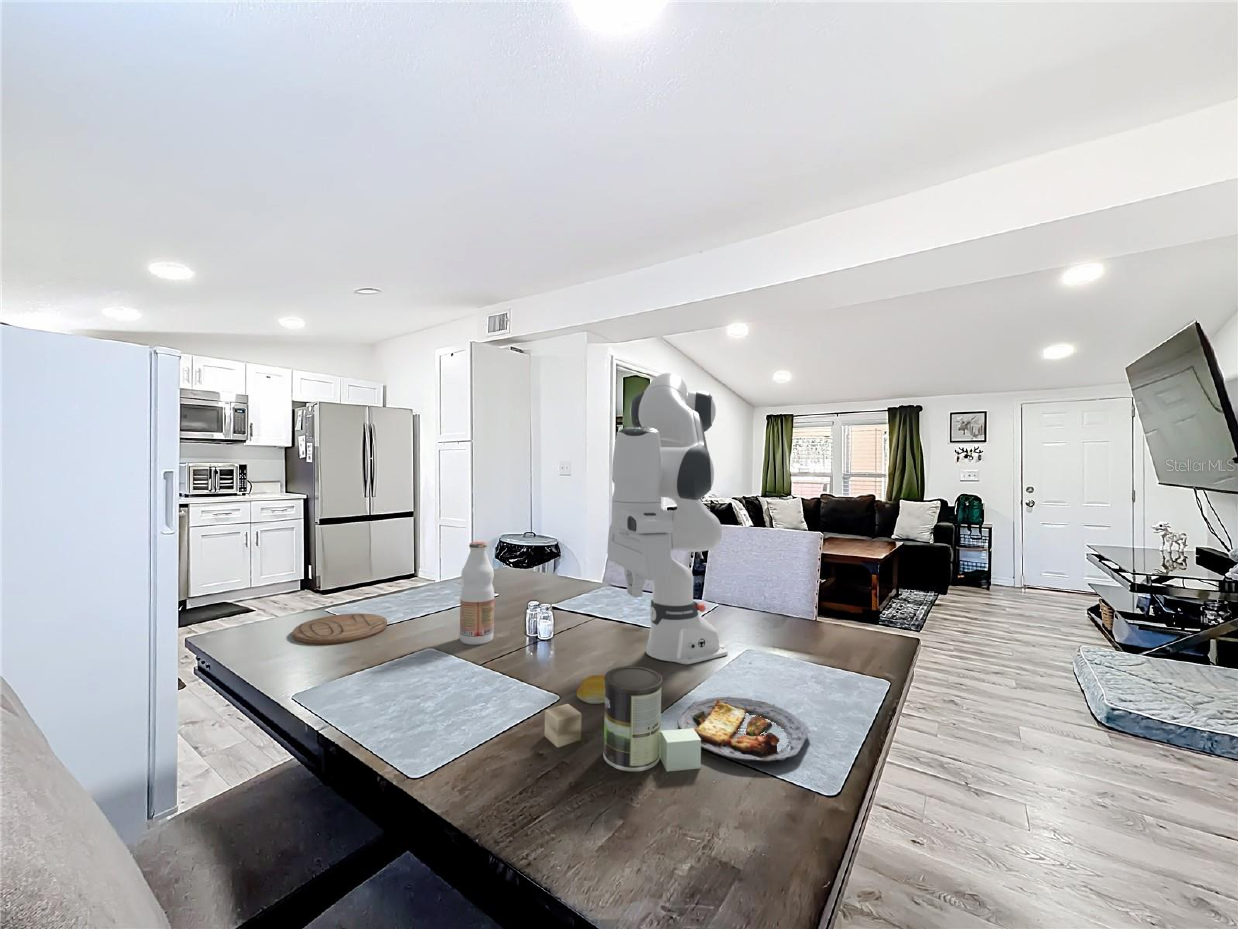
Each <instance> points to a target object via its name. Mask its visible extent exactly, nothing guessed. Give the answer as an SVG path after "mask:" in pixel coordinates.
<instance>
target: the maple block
mask: <svg viewBox="0 0 1238 929" xmlns="http://www.w3.org/2000/svg"><path fill="white" fill-rule="evenodd" d="M544 737H545V738H546V739H547V740H548V741H549V742H551V743H552V744H553V745H554V746H555V747H556V748H561V747H563V746H566V745H570V744H572V743H576V742H577V741H581V740H582V713H581V712H580V711H579V710H577V709H576V708H575V707H573V706H572V705H570V704H569V703H566V704H562V705H558V706H555V707H551V708H548V709H545V710H544Z"/></svg>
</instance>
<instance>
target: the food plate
mask: <svg viewBox="0 0 1238 929" xmlns="http://www.w3.org/2000/svg"><path fill="white" fill-rule="evenodd" d="M746 713H748V714H749V715H756V716H755V717H752V716H751V717H750V719H749V720H748V722H747V723H746V725H747V726H746V727H747V728H746V727H744V725H743V722H744V721H745V720H746V715H745V714H746ZM760 716H761V717H760ZM744 719H745V720H744ZM765 719H768V720H770V721H771V722H774V723H776V725H777V726H780V727H781V729H784V730H783V731H784V732H785V733H786V734H787V735H786V736H787V738H786V736H785V738H786V739H789V740H788V742H787V741H786V747H784V748H783V747H782V749H781V751H779V752H778V751H777V744H779V743H778V742H780V739H781V738H779V736H777V735H776V734H775V733H773V732H768V733H767V734H765V735H764V734H762V735H760V734H761V733H763V732H764V731H765V730H766V729H767V730H768V728H769V727H770V726H771V727H773V724H772V723H771V722H768V721H766V720H765ZM676 723H677V728H678V729H690V728H694V730H695V731H696V733H697V734H698V736H699V737H700V739H701V749H704V750H706V751H709V752H711V753H714V754H716V755H719V756H721V757H724V758H725V759H730V760H736V761H744V762H747V761H749V762H750V761H752V762H760V763H774V762H776V764H778V763H779V762H783V761H785V760H786V758H788V759H793V758H794V757H796V755H797V754H799V753H800V751H801V749H802V747H803V746H804V745H805V744H804V743H805V741H806V740H807V738H808V735H809V734H811V731H810V728H809V727H808V725H807V724H806V723H805V722H803V721H802V720H800V719H799V718H798V717H796V715H794V714H792V713H791V712H789V711H788V710H786V709H784V708H782V707H779V706H777V705H775V704H771V703H769V702H766V701H762V700H754V699H752V698H747V697H732V696H718V697H715V696H714V697H709V698H705V699H703V700H699V701H697V700H696V701H694V702H693V703H691V704H690V705H689V706H688V707H687V708H686V709H685V710H683V712H682V713H681V715H679V717H678V719H677V721H676ZM744 723H745V722H744ZM741 726H743V727H744V728H743V727H741ZM771 727H770V728H771ZM770 728H769V729H770ZM738 729H739V730H738ZM740 729H746V731H745V732H746V735H743V734H741V733H740V732H744V730H743V731H741V730H740ZM767 730H766V731H767ZM766 731H765V732H766ZM783 731H782V732H783ZM738 732H739V733H738ZM740 736H741V737H740ZM763 736H764V737H763ZM736 739H737V740H736ZM787 743H788V744H787ZM782 746H784V745H782ZM789 746H790V749H789V750H790V751H788V750H787V749H788V747H789Z"/></svg>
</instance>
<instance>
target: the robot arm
mask: <svg viewBox="0 0 1238 929" xmlns="http://www.w3.org/2000/svg"><path fill="white" fill-rule="evenodd" d="M716 411H717V410H716V404H715V402H714V399H713V396H712V395H711V394H710V393H709V392H708V391H703V390H697V391H695V390H694V391H693V390H688V388H687V385H686V383H685V381H684V380H683V379H682V378H681V377H680V376H678V375H676V374H674V373H670V372H669V373H661V374H659V375H657V376H656V377H654V378H653V379H652V380H651V381H650V383H649V384H648V386H647V387H646V388H645V390H644V391H642V392H640V393H638V394H636V395H635V396H634V397H633V398H632V401H631V404H630V407H629V417H630V420H631V425H632V426H629V427H624V428H621V429H620V430H618V431H617V433H616V437H615V443H614V449H613V457H612V470H611V471H612V472H611V473H612V474H611V476H612V482H613V484H614V485H613V486H614V488H613V493H612V497H611V517H610V518H611V523H610V525H609V528H608V536H607V537H608V538H607V553H606V554H607V558H608V561H610V562H611V563H613V564H616V565H618V566H619V567H622V568H624V570H623V571H624V572H623V574H624V577H625V578H624V579H625V581H626V593H627V594H628V595H630V596H631V597H633V598H642V597H643V591H644V589H643V588H644V585H645V582H646V580H648V581H651V583H652V584H651V585H652V586H651V587H652V588H651V589H652V596H651V597H652V599H650V611H649V614H650V630H649V635H648V640H647V644H646V648H645V651H644V652H645V653H646V654H647V656H650V657H651V658H654V659H656V660H659V661H666V662H673V663H677V664H680V665H681V664H682V665H691V664H696V663H699V662H703V661H708V660H712V659H715V658H716V659H717V658H720V657H724V656H727V655H729V653H728V649H727V647H726V646H725V645H724V644H722V643H721V642H720V639H719V632H718V631H717V629H716V628H715V626H713V625H712V624H711V623H710V622H708V620H706V619H705V618H704V617H703V616H701V615H700V614H699V612H700V613H704V612H705V611H706V605H705V604H702V602H701V603H700V602H699V603H698V602H696V601H694V575H693V572H692V570H690V568H688V567H687V566H686V565H685V564H682V563H680V562H679V561H677V560H676V559H674V557H673V555H672V552H673V551H675V552H692V553H697V552H699V553H700V552H706V551H712V550H714V549H716V547H718V545H719V543H720V542H721V539H722V535H723V529H722V524H721V522H720V520H719V518H718V517H717V516H716V515H715V514H714V513H713V512H711V511H710V510H709V509H708V508H707V506H705V504H704V503H703V501H702V498H704V497H705V496H706V495H707V494H708V493H709V492H710V491H711V490H712V487H713V486H714V485H713V484H714V479H715V470H714V469H715V468H714V464H713V461H712V458H711V455H710V452H709V449H708V445H707V440H706V435H705V432H707V431H709V429H710V428H711V427H712V426H713V422H714V420H715V418H716V413H717V412H716ZM662 498H668V499H670V500H671V501H673V502H674V503H675V504H676V509H674V510H672V509H669V510H668V509H663V508H662Z"/></svg>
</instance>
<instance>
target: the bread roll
mask: <svg viewBox="0 0 1238 929" xmlns="http://www.w3.org/2000/svg"><path fill="white" fill-rule="evenodd" d="M604 677H605V675H602V674H593V675H590V676H588V677H586V678H585V679H583V680H582V682H581V684H580V685H579V686H580V687H579V688H577V691H576V696H577V698H578V699H579V700H580V701H582V702H584V703H585V704H586V703H587V704H592V705H597V704H599V705H600V704H605V680H604Z"/></svg>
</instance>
